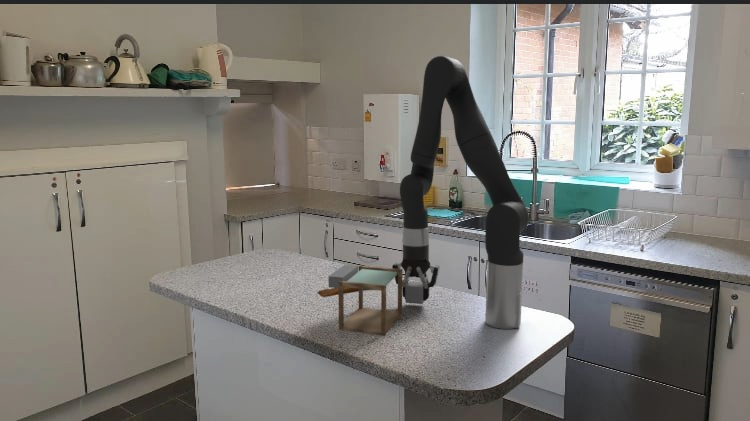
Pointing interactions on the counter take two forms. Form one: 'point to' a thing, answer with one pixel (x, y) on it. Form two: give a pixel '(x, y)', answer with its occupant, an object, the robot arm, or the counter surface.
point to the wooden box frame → (368, 317)
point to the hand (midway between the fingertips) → (415, 298)
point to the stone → (414, 292)
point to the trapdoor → (360, 276)
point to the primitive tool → (335, 291)
